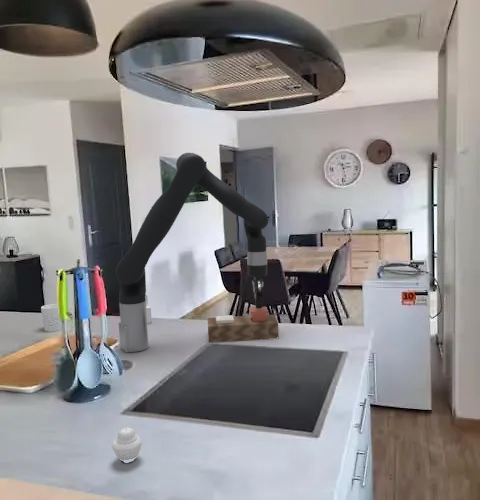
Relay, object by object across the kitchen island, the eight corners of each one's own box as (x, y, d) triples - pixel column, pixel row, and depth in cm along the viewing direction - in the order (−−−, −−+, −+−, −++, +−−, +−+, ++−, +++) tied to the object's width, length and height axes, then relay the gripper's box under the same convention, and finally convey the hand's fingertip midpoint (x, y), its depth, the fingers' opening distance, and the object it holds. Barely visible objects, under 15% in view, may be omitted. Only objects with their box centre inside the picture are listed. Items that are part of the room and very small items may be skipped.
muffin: (145, 450, 104) (143, 420, 103) (140, 467, 98) (138, 435, 97) (116, 452, 104) (114, 422, 103) (110, 468, 98) (107, 436, 97)
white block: (216, 335, 179) (216, 320, 178) (216, 330, 185) (215, 316, 184) (234, 334, 179) (233, 319, 178) (233, 329, 186) (232, 315, 185)
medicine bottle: (131, 321, 207) (129, 294, 205) (147, 319, 210) (146, 292, 208) (135, 325, 201) (133, 298, 199) (151, 323, 203) (150, 295, 202)
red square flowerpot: (251, 326, 179) (250, 311, 178) (249, 322, 186) (249, 307, 185) (268, 326, 180) (268, 311, 179) (266, 321, 186) (265, 306, 185)
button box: (208, 342, 176) (207, 326, 175) (208, 332, 188) (207, 317, 187) (278, 338, 178) (278, 322, 177) (273, 329, 190) (273, 314, 189)
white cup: (47, 333, 194) (45, 309, 192) (40, 329, 199) (38, 306, 198) (66, 329, 199) (64, 305, 198) (58, 325, 205) (56, 302, 203)
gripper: (269, 265, 173) (270, 311, 176) (264, 260, 186) (266, 303, 189) (249, 266, 173) (250, 312, 175) (245, 260, 186) (247, 304, 188)
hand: (258, 307), depth 182 cm, fingers closed
